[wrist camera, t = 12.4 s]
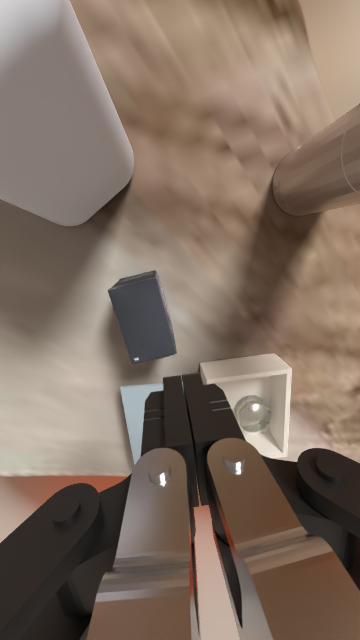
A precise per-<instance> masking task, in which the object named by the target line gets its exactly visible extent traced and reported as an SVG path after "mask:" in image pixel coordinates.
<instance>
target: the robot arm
mask: <svg viewBox="0 0 360 640" xmlns="http://www.w3.org/2000/svg"><path fill="white" fill-rule="evenodd" d="M272 187H273V195H274V198H275V201H276V203H277V204H278V206H279V207H280V208H281V209H282V210H283V211H284V212H286V213H287V214H290V215H294V216H302V215H308V214H312V213H317V212H322V211H327V210H331V209H336V208H340V207H345V206H349V205H354V204H358V203H360V104H359V105H358V106H356V107H354V108H353V109H352V110H350V111H349V112H347V113H346V114H345V115H343V116H342V117H340V118H339V119H337V120H336V121H335V122H333V123H332V124H330V125H329V126H327V127H326V128H325V129H323V130H322V131H320V132H319V133H317V134H316V135H315V136H313V137H312V138H310V139H309V140H307V141H306V142H304V143H303V144H302V145H300V146H299V147H297V148H296V149H294V150H293V151H292V152H290V153H289V154H287V155H286V156H285V157H284V158H283V159H282V161H281V162H280V163H279V165H278V167H277V169H276V171H275V174H274V177H273V185H272ZM182 382H183V386H182ZM183 391H184V392H183ZM196 477H197V481H196ZM197 483H198V489H199V495H200V501H201V505H209V508H210V513H211V518H212V527H213V536H214V540H215V544H216V548H217V552H218V556H219V559H220V563H221V567H222V571H223V575H224V579H225V582H226V586H227V590H228V594H229V598H230V602H231V605H232V609H233V613H234V617H235V621H236V625H237V629H238V633H239V637H240V640H360V463H358V462H355V461H353V460H351V459H349V458H347V457H345V456H343V455H341V454H339V453H336V452H334V451H331V450H327V449H322V448H312V449H308V450H306V451H304V452H302V453H301V454H300V456H299V458H298V461H297V462H291V461H284V460H277V459H272V458H269V457H266V456H263V455H261V454H260V453H259V452H258V451H257V449H256V448H255V447H254V446H253V445H251V444H250V443H248V442H247V441H246V440H245V437H244V435H243V433H242V431H241V429H240V426H239V424H238V422H237V420H236V418H235V415H234V413H233V411H232V409H231V407H230V404H229V402H228V401H227V398H226V396H225V393H224V391H223V390H222V389H221V388H220V387H218V386H217V385H216V384H215V383H214V384H207V385H204V384H203V381H202V378H201V375H200V373H194V374H187V375H182V380H181V375H180V376H172V377H164V378H163V391H155V392H151V393H150V394H149V396H148V397H147V399H146V400H145V407H144V421H143V432H142V445H141V456H140V458H139V460H138V461H137V462H136V464H135V465H134V468H133V471H132V473H131V475H130V476H128V477H127V478H126V479H125V480H123V481H122V482H120V483H118V484H117V485H115V486H113V487H111V488H108V489H106V490H104V491H102V492H100V493H98V492H97V490H96V489H95V488H94V487H92V486H91V485H89V484H85V483H78V484H73V485H70V486H67V487H65V488H63V489H61V490H60V491H58V492H57V493H55V494H54V495H53V496H52V497H51V498H49V499H48V500H47V501H46V502H45V503H44V504H43V505H42V506H40V507H39V508H38V509H37V510H36V511H35V512H34V513H33V514H32V515H31V516H30V517H28V518H27V519H26V520H25V521H24V522H23V523H22V524H21V525H20V526H19V527H18V528H16V529H15V530H14V531H13V532H12V533H11V534H10V535H9V536H8V537H7V538H6V539H4V540H3V541H2V542H1V543H0V640H201V636H200V620H199V603H198V587H197V574H196V573H197V571H196V555H195V540H194V537H195V531H196V530H195V518H194V509H193V507H198V506H199V501H198V491H197Z"/></svg>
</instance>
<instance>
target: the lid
mask: <svg viewBox="0 0 360 640" xmlns="http://www.w3.org/2000/svg"><path fill="white" fill-rule="evenodd" d="M182 386H183V382H182ZM120 390H121V396H122V401H123V407H124V412H125V417H126V423H127V428H128V434H129V439H130V445H131V450H132V455H133V461H134V465H135V464H136V462H137V461H138V460H139V458H140V456H141V445H142V432H143V421H144V407H145V400H146V399H147V397H148V396H149V394H150V393H151V392H155V391H163V383H156V384H142V385H128V386H121V387H120ZM183 392H184V391H183Z"/></svg>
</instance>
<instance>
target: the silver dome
mask: <svg viewBox="0 0 360 640" xmlns="http://www.w3.org/2000/svg"><path fill="white" fill-rule="evenodd" d="M234 411H235V415H236V417H237V419H238V421H239V423H240V425H241V427H242V428H243V429H244V430H245V431H248V432H258V431H261V430H263V429H264V428H266V427H267V425H268V424H269V423H270V420H271V412H270V410H269V409H268V407H267V406H266V405H265V403H264V402H263V400H262V399H261V398H260V397H258V396H255V395H248V396H245V397H243V398H241V399H240V400H239V401H238V402H237V404H236V405H235V409H234Z"/></svg>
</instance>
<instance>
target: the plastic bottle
mask: <svg viewBox="0 0 360 640" xmlns="http://www.w3.org/2000/svg"><path fill="white" fill-rule="evenodd" d="M133 170H134V155H133V151H132V148H131V145H130V143H129V140H128V138H127V136H126V133H125V131H124V128H123V126H122V124H121V121H120V119H119V117H118V114H117V112H116V109H115V107H114V105H113V102H112V100H111V98H110V95H109V93H108V90H107V88H106V86H105V83H104V81H103V79H102V76H101V74H100V71H99V69H98V67H97V64H96V62H95V60H94V57H93V55H92V52H91V50H90V48H89V45H88V43H87V41H86V38H85V36H84V33H83V31H82V29H81V26H80V24H79V22H78V19H77V17H76V14H75V12H74V10H73V7H72V5H71V3H70V0H0V199H1V200H4V201H6V202H8V203H10V204H13V205H15V206H17V207H20V208H22V209H24V210H26V211H29V212H31V213H33V214H36V215H38V216H40V217H42V218H45V219H47V220H49V221H52V222H54V223H56V224H59V225H62V226H77V225H80V224H82V223H84V222H86V221H87V220H88V219H89V218H90V217H92V216H93V215H94V214H95V213H96V212H97V211H98V210H99V209H101V208H102V207H103V206H104V205H105V204H106V203H107V202H108V201H109V200H111V199H112V198H113V197H114V196H115V195H116V194H117V193H118V192H120V191H121V190H122V189H123V188H124V187H125V186H126V185H127V184H128V182H129V181H130V179H131V176H132V174H133Z"/></svg>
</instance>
